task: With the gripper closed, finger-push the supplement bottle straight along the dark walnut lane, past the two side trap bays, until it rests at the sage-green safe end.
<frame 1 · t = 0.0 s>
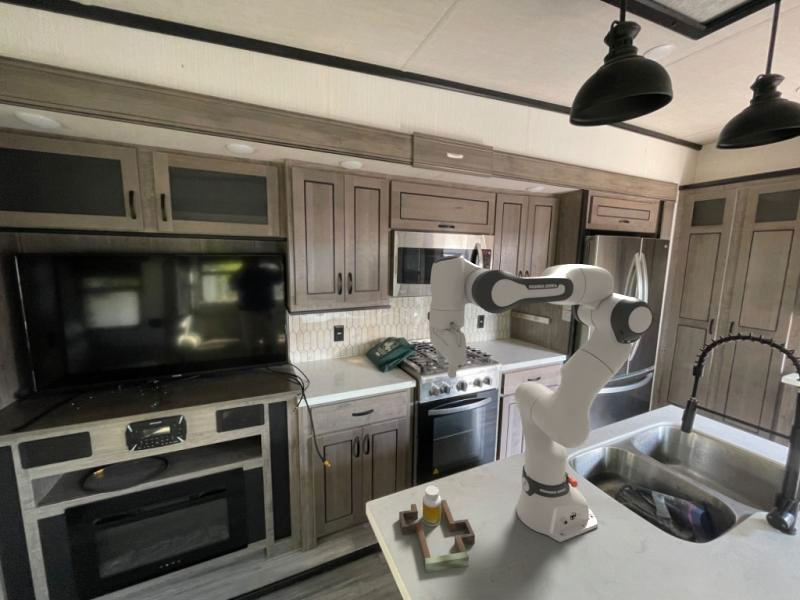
hand: (446, 370, 87), 48 cm above the counter, fingers open, 8 cm apart
supplement bottle: (431, 520, 98), on the counter
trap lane: (435, 530, 94), on the counter
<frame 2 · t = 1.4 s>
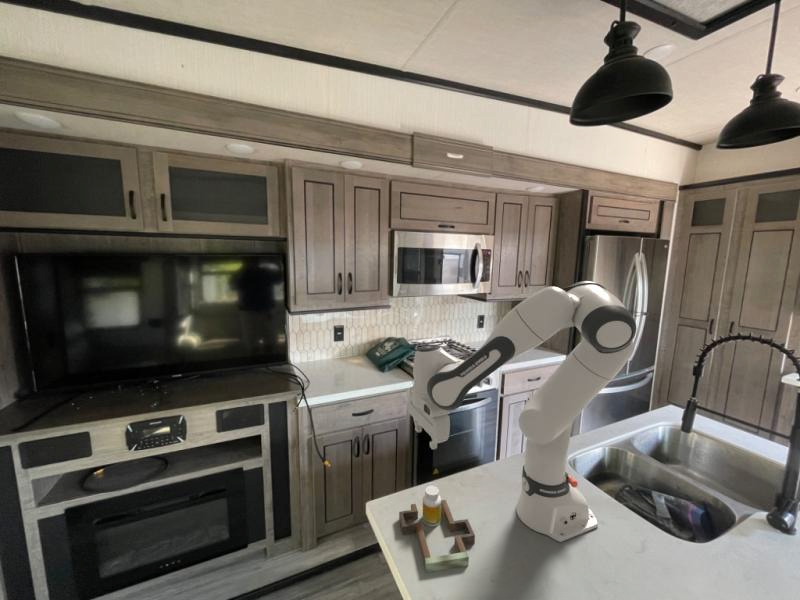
hand: (425, 439, 102), 21 cm above the counter, fingers open, 8 cm apart
nothing on the counter moved.
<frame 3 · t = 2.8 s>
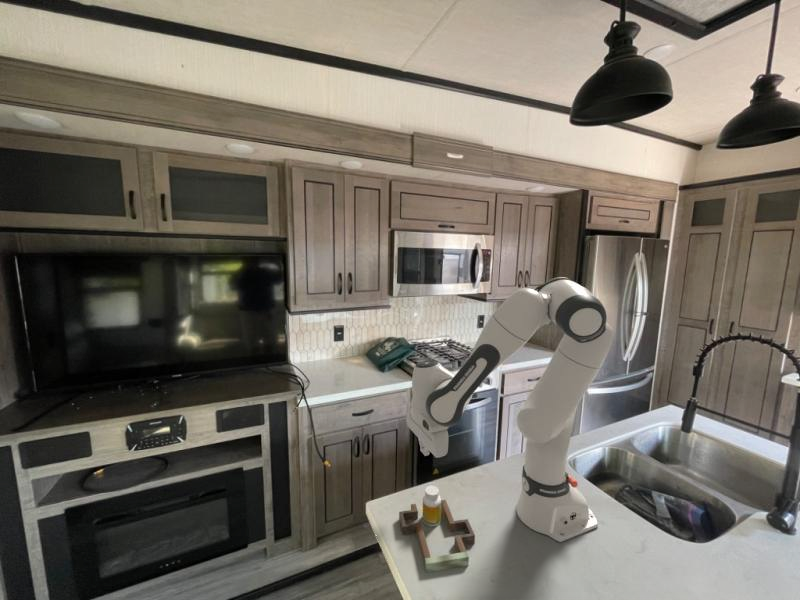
hand: (424, 453, 103), 16 cm above the counter, fingers closed
nothing on the counter moved.
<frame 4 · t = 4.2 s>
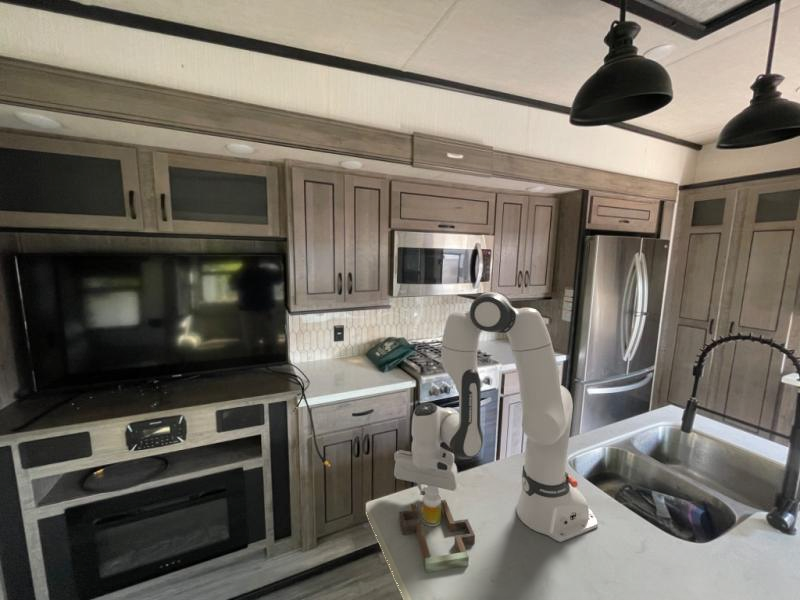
hand: (425, 494, 106), 2 cm above the counter, fingers closed
nothing on the counter moved.
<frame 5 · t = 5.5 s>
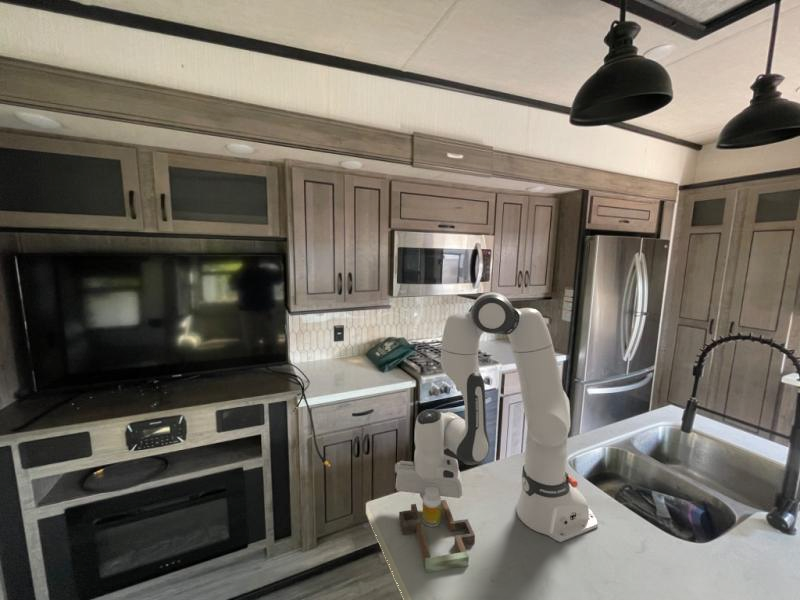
hand: (428, 504, 101), 2 cm above the counter, fingers closed
supplement bottle: (431, 520, 98), on the counter, touching gripper
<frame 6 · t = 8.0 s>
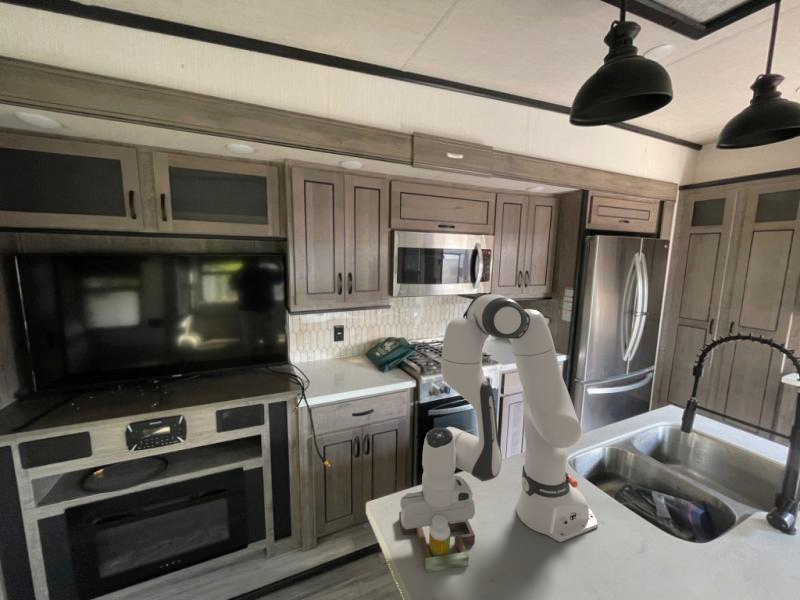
hand: (437, 534, 91), 2 cm above the counter, fingers closed
supplement bottle: (439, 552, 88), on the counter, touching gripper
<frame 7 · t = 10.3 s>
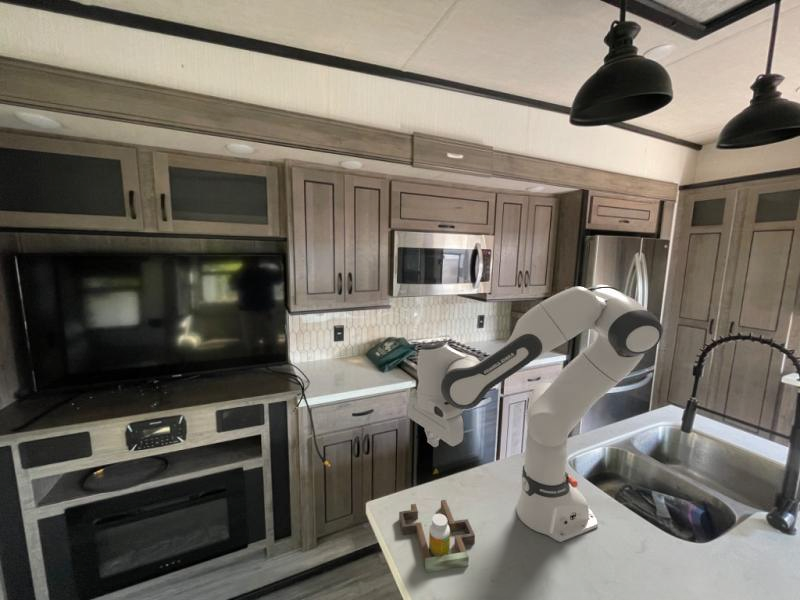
hand: (433, 444, 94), 24 cm above the counter, fingers closed
supplement bottle: (439, 552, 88), on the counter
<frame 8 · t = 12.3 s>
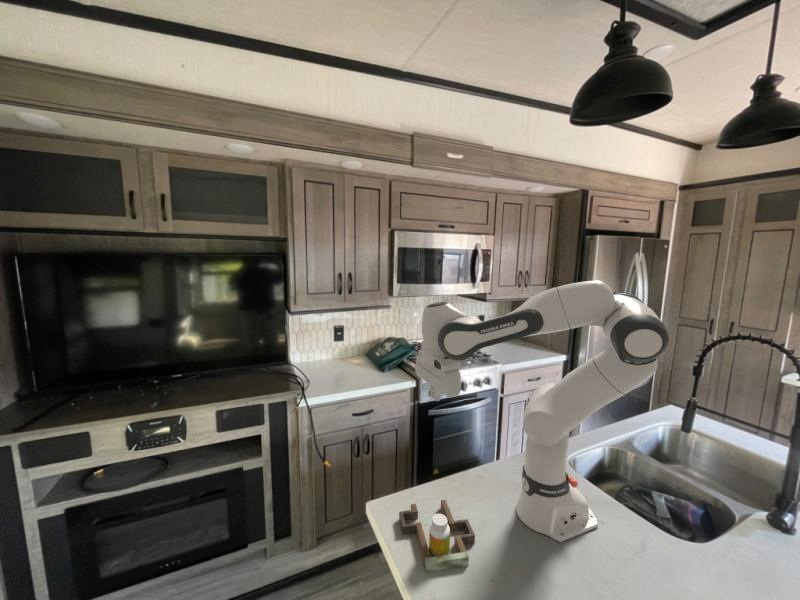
hand: (435, 399, 101), 34 cm above the counter, fingers closed
nothing on the counter moved.
at the end: supplement bottle inside the target area (1.0 cm from its centre), on the counter; supplement bottle tilted 0° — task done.
